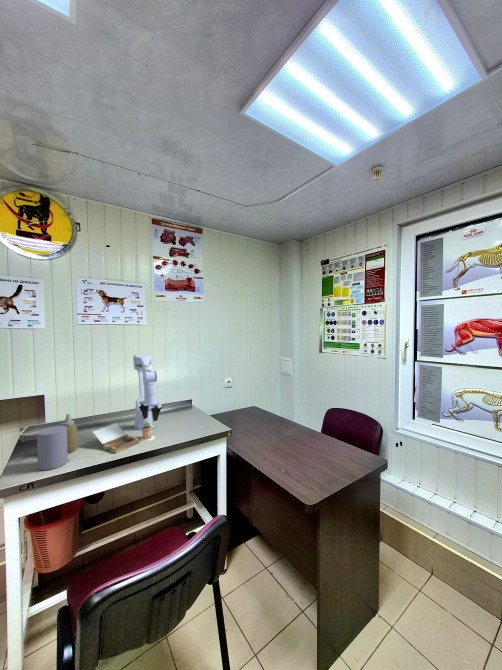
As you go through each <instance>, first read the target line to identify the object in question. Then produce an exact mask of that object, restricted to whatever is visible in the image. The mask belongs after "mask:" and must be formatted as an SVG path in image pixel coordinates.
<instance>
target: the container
mask: <svg viewBox="0 0 502 670" xmlns="http://www.w3.org/2000/svg"><path fill="white" fill-rule="evenodd" d="M36 443H37V444H36V447H37V451H36V452H37V457H36V458H37V469H38V470H40V471H50V470H54V469H57V468H60V467H62V466H64V465H65V464H66V463H67V462H68V458H69V457H68V454H69V453H68V454H67V427H66V426H62V425H55V426H49V427H45V428H43V429H40V430H38V431H37V432H36Z"/></svg>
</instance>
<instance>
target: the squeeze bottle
mask: <svg viewBox="0 0 502 670" xmlns="http://www.w3.org/2000/svg"><path fill="white" fill-rule="evenodd" d="M61 426H66V427H67V454H72V453H74V452H76V451H77V448H78V446H79V442H80V441H79V433H78V427H77V425H76V424H75V420H72V418H71V415H70V413H67V414H66V415H65V421H63V422H62V423H61Z"/></svg>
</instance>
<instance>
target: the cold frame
mask: <svg viewBox="0 0 502 670" xmlns="http://www.w3.org/2000/svg"><path fill="white" fill-rule="evenodd" d="M121 429H122V430H123V431H124V432H125V429H124V428H121ZM140 441H141V438H137V437H134V436H130V435H129V434H127V433H126V435H124V436H121V437H119V438H116V439H114V440H111V441H109V442H106V443H104V444H103V445H102V450H104V451H107V452H111V453H114V454H118V453H120V452H123V451H125V450H128V449H129V448H132V447H134V446H136V445H138V444H140V443H141V442H140Z"/></svg>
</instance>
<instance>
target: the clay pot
mask: <svg viewBox="0 0 502 670" xmlns="http://www.w3.org/2000/svg"><path fill="white" fill-rule="evenodd" d="M152 429H153V428H152V426H150V424H149V423H148V422H146V423H145V424H144V427H142V428H141V430H140V431H142V432H141V434H142V435H141V436H142V437H141V438H142V439H144V440H146V439H150V438H151V437H152V432H153V431H152Z"/></svg>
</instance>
